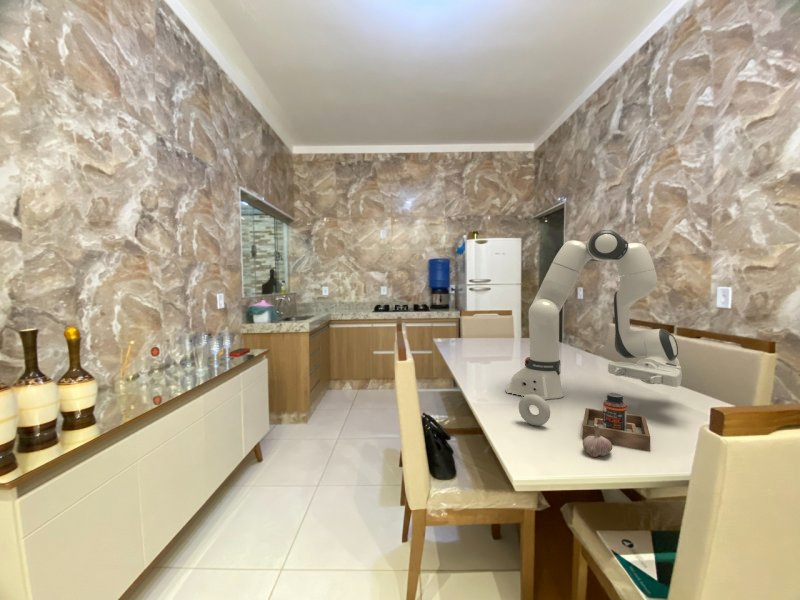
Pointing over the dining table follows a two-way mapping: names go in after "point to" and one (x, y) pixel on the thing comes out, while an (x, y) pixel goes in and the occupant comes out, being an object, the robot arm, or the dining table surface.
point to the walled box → (632, 437)
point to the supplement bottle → (614, 412)
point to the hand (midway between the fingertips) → (632, 376)
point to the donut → (540, 404)
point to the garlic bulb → (597, 444)
